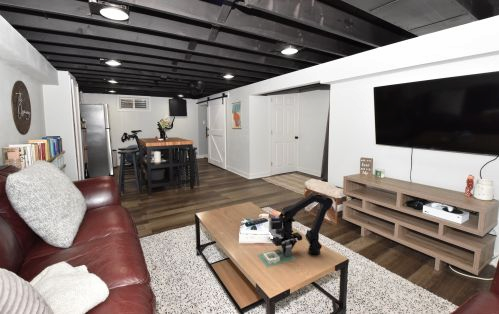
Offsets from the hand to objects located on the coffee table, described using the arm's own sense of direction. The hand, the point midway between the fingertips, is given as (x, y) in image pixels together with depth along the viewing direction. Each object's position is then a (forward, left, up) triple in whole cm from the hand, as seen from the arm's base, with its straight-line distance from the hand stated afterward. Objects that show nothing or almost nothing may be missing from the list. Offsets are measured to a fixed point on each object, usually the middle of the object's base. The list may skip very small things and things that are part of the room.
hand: (287, 251), depth 148 cm
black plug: (0, 0, -2) cm, 2 cm away
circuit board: (+7, -1, -4) cm, 8 cm away
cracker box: (-5, -19, -4) cm, 20 cm away
